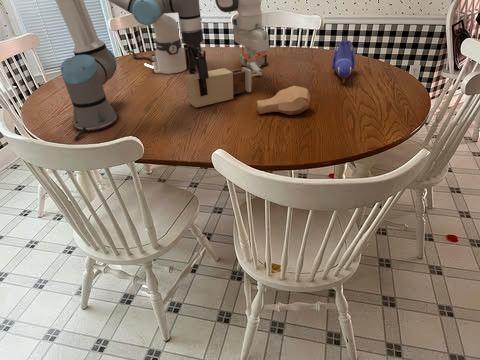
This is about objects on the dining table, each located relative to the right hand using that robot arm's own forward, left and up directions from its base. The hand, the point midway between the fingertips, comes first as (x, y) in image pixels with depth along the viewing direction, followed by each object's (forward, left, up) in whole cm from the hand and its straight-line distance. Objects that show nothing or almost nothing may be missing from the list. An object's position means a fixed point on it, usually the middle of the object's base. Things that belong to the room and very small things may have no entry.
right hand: (251, 58), depth 144 cm
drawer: (+1, -7, -12) cm, 14 cm away
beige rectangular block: (+2, -20, -13) cm, 24 cm away
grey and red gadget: (-22, +13, -13) cm, 29 cm away
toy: (+11, +39, -13) cm, 43 cm away
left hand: (+2, -24, -8) cm, 26 cm away
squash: (+26, -1, -13) cm, 29 cm away
